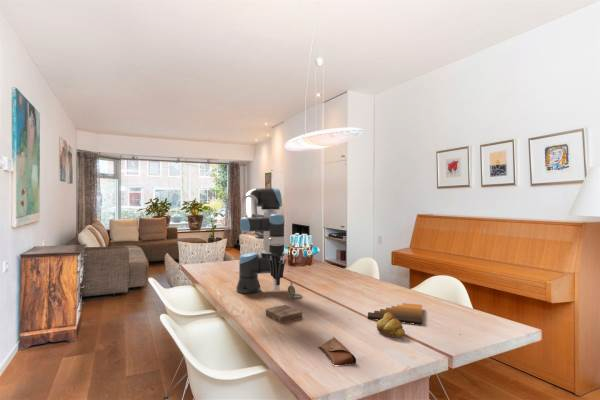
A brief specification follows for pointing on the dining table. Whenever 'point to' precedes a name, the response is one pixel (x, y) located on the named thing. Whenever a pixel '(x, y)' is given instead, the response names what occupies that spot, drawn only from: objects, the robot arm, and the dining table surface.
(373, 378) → the dining table surface
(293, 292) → the pocket watch
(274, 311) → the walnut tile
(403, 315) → the pan flute
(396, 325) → the bread roll
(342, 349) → the sunglasses case
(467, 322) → the dining table surface
